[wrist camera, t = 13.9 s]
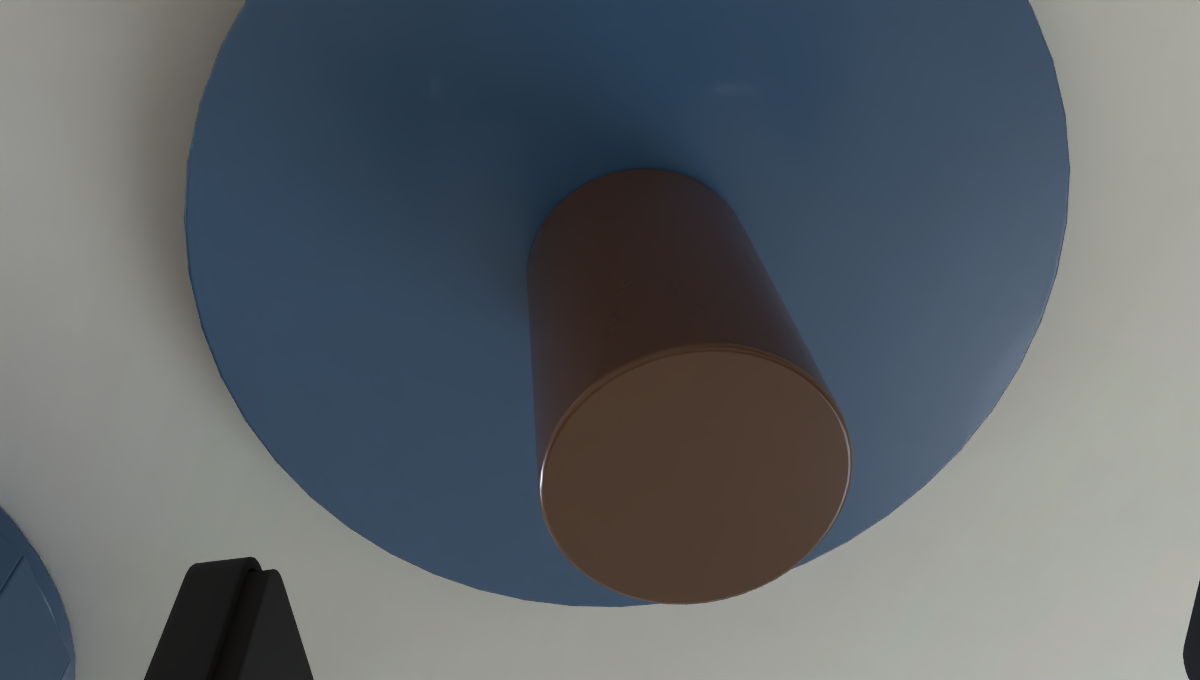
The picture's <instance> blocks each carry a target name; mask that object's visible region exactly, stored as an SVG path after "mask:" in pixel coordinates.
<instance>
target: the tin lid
mask: <svg viewBox="0 0 1200 680" xmlns="http://www.w3.org/2000/svg"><path fill="white" fill-rule="evenodd" d="M1069 176H1070V164H1069V152H1068V140H1067V128H1066V116H1065V110H1064V106H1063V102H1062V97H1061V93H1060V89H1059V84H1058V80H1057V76H1056V71H1055V67H1054V63H1053V59H1052V56H1051V54H1050V51H1049V49H1048V46H1047V44H1046V41H1045V39H1044V36H1043V34H1042V31H1041V29H1040V26H1039V24H1038V21H1037V18H1036V16H1035V13H1034V11H1033V8H1032V6H1031V4H1030V3H1029V1H1028V0H246V2H245V3H244V5H243V7H242V9H241V11H240V12H239V14H238V16H237V18H236V20H235V21H234V23H233V25H232V27H231V29H230V30H229V32H228V34H227V36H226V38H225V40H224V41H223V43H222V45H221V47H220V50H219V53H218V55H217V58H216V61H215V63H214V66H213V69H212V71H211V74H210V77H209V80H208V82H207V85H206V88H205V90H204V93H203V96H202V98H201V101H200V104H199V109H198V114H197V118H196V123H195V128H194V132H193V137H192V142H191V147H190V151H189V156H188V161H187V177H186V193H185V210H184V224H185V236H186V247H187V259H188V270H189V277H190V281H191V285H192V289H193V294H194V298H195V302H196V306H197V311H198V315H199V319H200V323H201V327H202V330H203V332H204V335H205V337H206V340H207V342H208V345H209V348H210V350H211V353H212V355H213V358H214V360H215V363H216V365H217V368H218V371H219V373H220V376H221V378H222V379H223V381H224V383H225V385H226V387H227V388H228V390H229V392H230V394H231V396H232V397H233V399H234V401H235V403H236V404H237V406H238V408H239V410H240V412H241V413H242V415H243V417H244V419H245V421H246V422H247V423H248V425H249V426H250V427H251V429H252V430H253V431H254V433H255V434H256V435H257V437H258V438H259V439H260V441H261V442H262V443H263V445H264V446H265V447H266V449H267V450H268V451H269V453H270V454H271V455H272V457H273V458H274V459H275V461H276V462H277V463H278V464H279V465H280V466H281V467H282V468H283V469H284V470H285V471H286V472H287V473H288V474H289V475H290V476H291V477H292V478H293V479H294V480H295V482H296V483H297V484H298V485H299V486H300V487H301V488H302V489H303V490H304V491H305V492H306V493H307V494H308V495H309V496H310V497H311V498H312V499H314V500H315V501H316V502H317V503H319V504H320V505H321V506H322V507H324V508H325V509H326V510H327V511H329V512H330V513H331V514H332V515H334V516H335V517H336V518H337V519H339V520H340V521H341V522H342V523H344V524H345V525H346V526H347V527H349V528H350V529H352V530H353V531H355V532H357V533H358V534H360V535H361V536H363V537H365V538H366V539H368V540H369V541H371V542H373V543H374V544H376V545H377V546H379V547H381V548H382V549H384V550H385V551H387V552H389V553H390V554H392V555H395V556H397V557H399V558H401V559H403V560H405V561H407V562H409V563H411V564H413V565H416V566H418V567H420V568H422V569H424V570H426V571H428V572H430V573H432V574H435V575H438V576H441V577H444V578H447V579H450V580H452V581H455V582H458V583H461V584H464V585H467V586H470V587H473V588H476V589H478V590H483V591H487V592H491V593H496V594H500V595H505V596H509V597H513V598H518V599H522V600H528V601H536V602H544V603H552V604H560V605H569V606H600V607H625V606H637V605H649V604H698V603H707V602H713V601H718V600H724V599H727V598H731V597H734V596H738V595H741V594H744V593H747V592H749V591H752V590H754V589H757V588H759V587H761V586H763V585H765V584H767V583H769V582H771V581H773V580H775V579H777V578H778V577H780V576H782V575H783V574H785V573H786V572H788V571H789V570H791V569H793V568H795V567H798V566H800V565H803V564H805V563H807V562H809V561H811V560H813V559H815V558H817V557H819V556H821V555H823V554H825V553H826V552H828V551H830V550H832V549H834V548H836V547H838V546H840V545H842V544H844V543H846V542H848V541H849V540H851V539H852V538H854V537H855V536H857V535H859V534H860V533H862V532H863V531H865V530H866V529H868V528H869V527H871V526H872V525H874V524H875V523H877V522H878V521H880V520H882V519H883V518H885V517H886V516H888V515H889V514H890V513H891V512H893V511H894V510H895V509H896V508H898V507H899V506H900V505H901V504H903V503H904V502H905V501H906V500H908V499H909V498H910V497H911V496H912V495H914V494H915V493H916V492H917V491H919V490H920V489H921V488H922V487H924V486H925V485H926V484H927V483H928V482H929V481H930V480H931V479H932V478H933V477H934V476H935V475H936V474H937V473H938V472H939V471H940V470H941V469H942V468H943V467H944V466H945V465H946V464H947V463H948V462H949V461H950V460H951V459H952V458H953V457H954V456H955V455H956V454H957V453H958V452H959V451H960V450H961V449H962V448H963V446H964V445H965V444H966V443H967V441H968V440H969V439H970V438H971V436H972V435H973V434H974V433H975V431H976V430H977V429H978V428H979V426H980V425H981V424H982V423H983V421H984V420H985V419H986V418H987V416H988V415H989V414H990V413H991V411H992V410H993V408H994V407H995V405H996V404H997V402H998V401H999V399H1000V397H1001V396H1002V394H1003V393H1004V391H1005V389H1006V388H1007V386H1008V385H1009V383H1010V381H1011V380H1012V378H1013V377H1014V375H1015V374H1016V372H1017V370H1018V369H1019V367H1020V365H1021V363H1022V361H1023V358H1024V356H1025V354H1026V352H1027V350H1028V348H1029V346H1030V344H1031V342H1032V339H1033V337H1034V335H1035V333H1036V331H1037V329H1038V327H1039V325H1040V323H1041V320H1042V317H1043V314H1044V311H1045V308H1046V305H1047V302H1048V299H1049V296H1050V293H1051V290H1052V287H1053V284H1054V281H1055V278H1056V275H1057V270H1058V265H1059V260H1060V255H1061V250H1062V245H1063V239H1064V234H1065V229H1066V224H1067V211H1068V193H1069Z"/></svg>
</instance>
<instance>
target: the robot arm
mask: <svg viewBox="0 0 1200 680" xmlns="http://www.w3.org/2000/svg"><path fill="white" fill-rule="evenodd" d="M1183 659H1184V665H1185V669H1186V673H1187V675H1188V678H1189V680H1200V581H1199V585H1198V590H1197V594H1196V598H1195V602H1194V606H1193V611H1192V615H1191V619H1190V623H1189V627H1188V632H1187V636H1186V640H1185V644H1184V650H1183ZM144 680H314V679H313V676H312V673H311V669H310V666H309V663H308V660H307V657H306V653H305V650H304V647H303V644H302V641H301V638H300V634H299V631H298V628H297V625H296V622H295V619H294V615H293V612H292V609H291V606H290V603H289V600H288V596H287V593H286V590H285V587H284V584H283V580H282V578H281V576H280V574H279V572H278V571H277V570H274V569H272V570H264V571H262V569H261V566H260V564H259V562H258V561H257V560H256V559H255V558H253V557H245V558H237V559H229V560H221V561H212V562H204V563H196V564H194V565H192V566H191V567H190V568H189V570H188V571H187V573H186V575H185V578H184V580H183V583H182V585H181V588H180V590H179V593H178V595H177V598H176V600H175V603H174V605H173V608H172V610H171V613H170V615H169V618H168V620H167V623H166V625H165V628H164V630H163V633H162V635H161V638H160V640H159V643H158V646H157V648H156V651H155V653H154V656H153V658H152V661H151V663H150V666H149V668H148V671H147V673H146V676H145V678H144Z"/></svg>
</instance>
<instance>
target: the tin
mask: <svg viewBox="0 0 1200 680" xmlns="http://www.w3.org/2000/svg"><path fill="white" fill-rule="evenodd" d="M0 680H75V653H74V648H73V642H72V636H71V630H70V625H69V621H68V618H67V616H66V613H65V610H64V607H63V604H62V602H61V599H60V596H59V593H58V590H57V589H56V587H55V585H54V583H53V581H52V579H51V577H50V576H49V574H48V572H47V570H46V568H45V566H44V565H43V563H42V561H41V559H40V557H39V556H38V554H37V553H36V552H35V550H34V549H33V548H32V546H31V545H30V543H29V542H28V541H27V539H26V538H25V537H24V535H23V534H22V533H21V531H20V530H19V528H18V527H17V526H16V524H15V523H14V522H13V521H12V520H11V519H10V518H9V517H8V516H7V515H6V514H5V512H4V511H3V510H2V509H1V508H0Z"/></svg>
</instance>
